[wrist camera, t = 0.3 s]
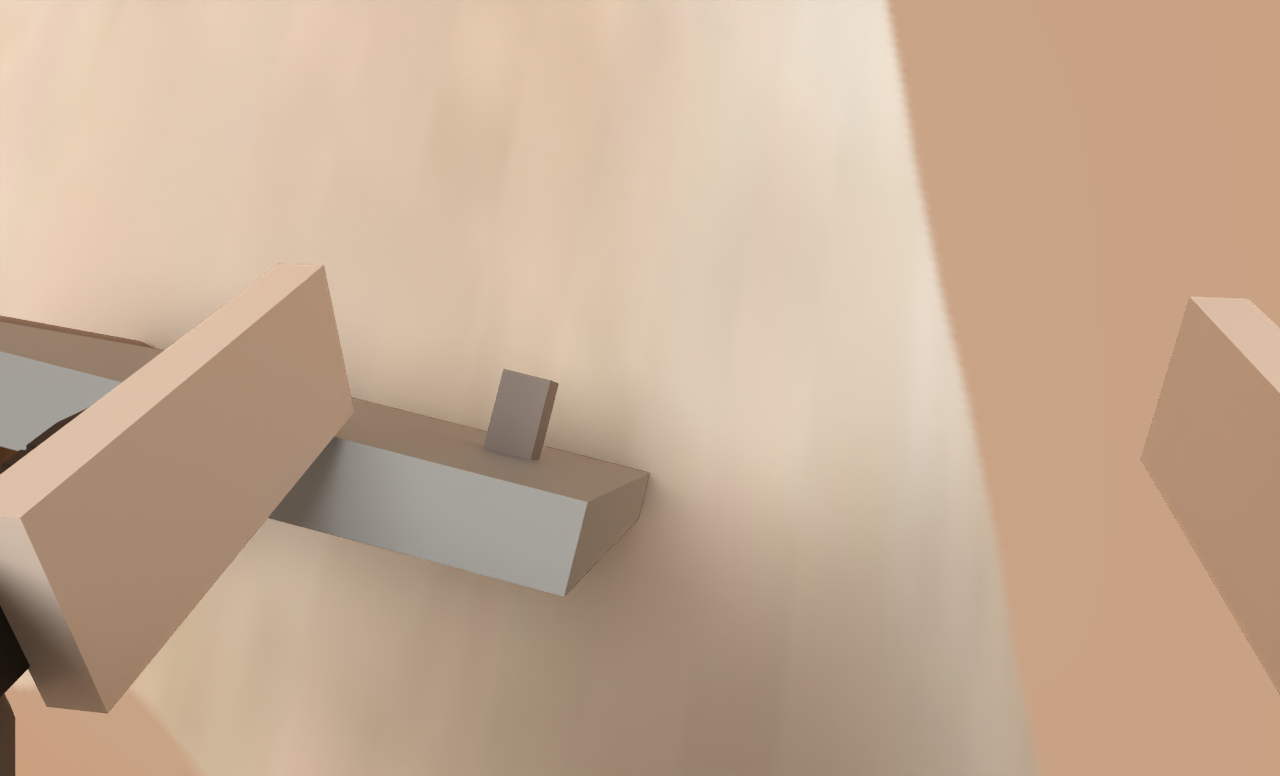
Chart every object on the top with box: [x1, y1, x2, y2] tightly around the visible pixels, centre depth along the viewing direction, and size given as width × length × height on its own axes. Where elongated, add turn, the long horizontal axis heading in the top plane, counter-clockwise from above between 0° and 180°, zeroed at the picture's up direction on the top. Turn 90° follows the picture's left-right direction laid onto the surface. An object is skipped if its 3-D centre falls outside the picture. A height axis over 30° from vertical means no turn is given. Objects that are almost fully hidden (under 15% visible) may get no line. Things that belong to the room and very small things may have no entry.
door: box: [0, 316, 650, 597], centre depth 24 cm, size 20×4×16 cm, turn 76°
